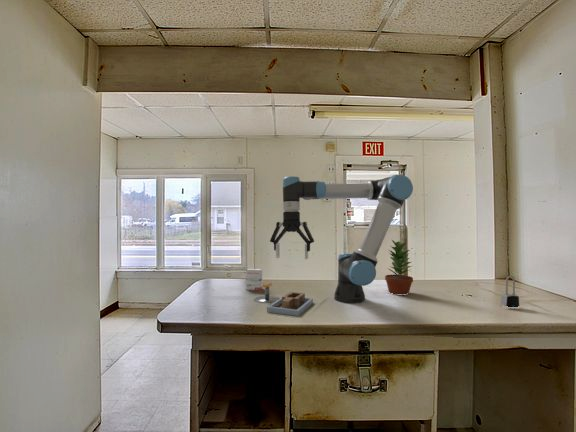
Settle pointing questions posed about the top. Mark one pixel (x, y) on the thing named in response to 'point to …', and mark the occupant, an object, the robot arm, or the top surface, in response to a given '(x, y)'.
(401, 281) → the potted plant
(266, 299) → the lid
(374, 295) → the top surface
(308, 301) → the tray
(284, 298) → the brown wooden forked piece
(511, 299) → the padlock
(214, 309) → the top surface
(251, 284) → the ink box
